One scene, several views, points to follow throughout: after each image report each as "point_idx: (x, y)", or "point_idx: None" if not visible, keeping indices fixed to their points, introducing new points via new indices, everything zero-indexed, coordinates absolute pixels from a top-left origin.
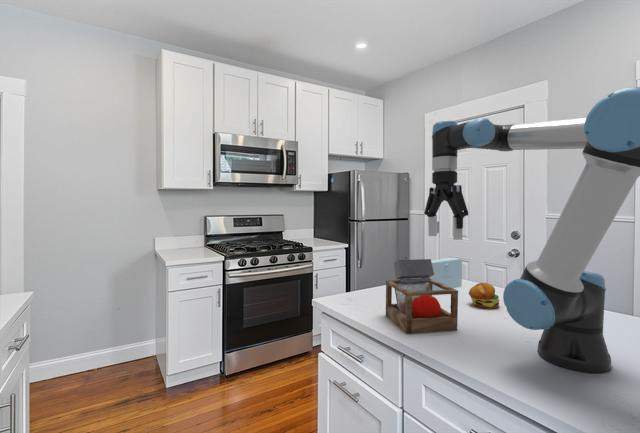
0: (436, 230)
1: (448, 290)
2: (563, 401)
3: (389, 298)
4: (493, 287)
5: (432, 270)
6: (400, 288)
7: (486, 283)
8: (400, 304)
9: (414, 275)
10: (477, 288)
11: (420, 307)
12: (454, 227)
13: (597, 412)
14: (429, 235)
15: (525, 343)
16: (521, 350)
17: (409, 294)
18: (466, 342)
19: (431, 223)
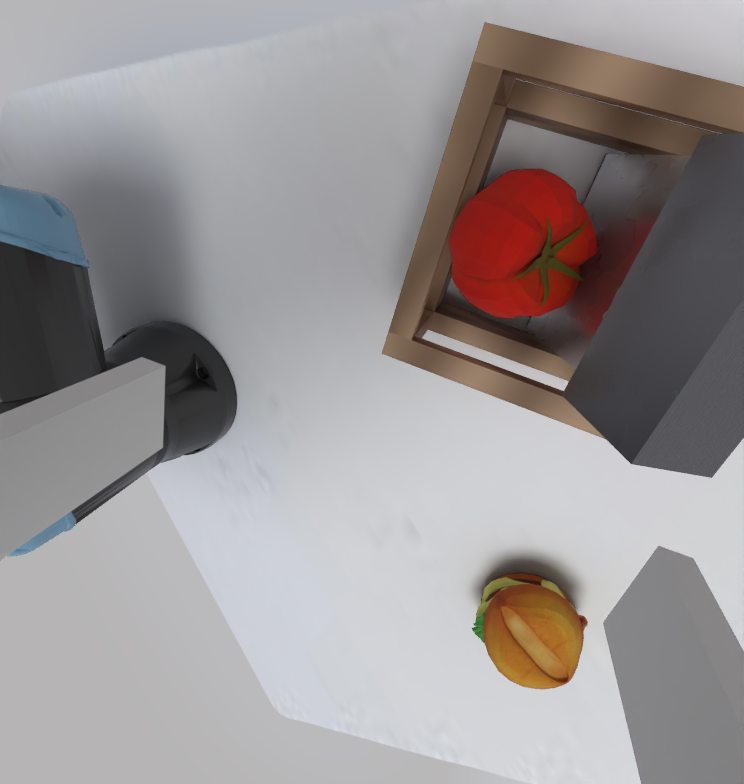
0: (622, 692)
1: (405, 313)
2: (62, 166)
3: None
4: (495, 665)
5: (581, 407)
6: (605, 61)
7: (521, 675)
8: (652, 168)
9: (638, 256)
10: (537, 630)
11: (501, 186)
12: (5, 413)
13: (30, 188)
14: (667, 555)
15: (267, 387)
16: (242, 334)
17: (480, 42)
18: (334, 245)
19: (725, 779)
